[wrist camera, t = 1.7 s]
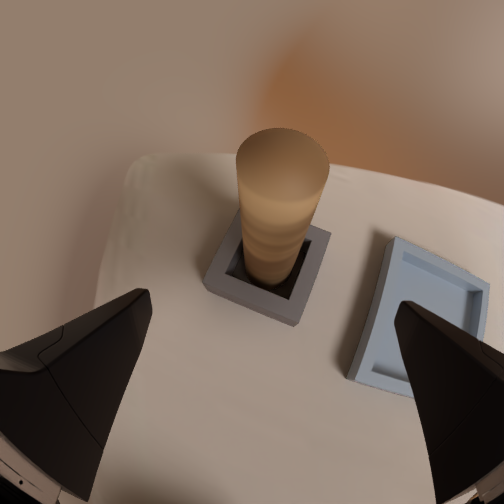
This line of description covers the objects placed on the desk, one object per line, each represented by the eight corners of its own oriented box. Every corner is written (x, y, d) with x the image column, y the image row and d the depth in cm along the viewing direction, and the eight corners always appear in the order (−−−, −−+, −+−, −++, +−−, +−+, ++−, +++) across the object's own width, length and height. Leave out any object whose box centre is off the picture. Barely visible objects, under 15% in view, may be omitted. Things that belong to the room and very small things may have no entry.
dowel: (280, 296, 22) (314, 213, 9) (237, 279, 22) (219, 179, 10) (296, 256, 23) (338, 145, 11) (256, 240, 23) (257, 119, 11)
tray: (452, 407, 17) (465, 409, 15) (345, 379, 19) (354, 380, 17) (477, 289, 21) (489, 284, 19) (386, 245, 23) (395, 236, 21)
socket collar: (293, 326, 21) (298, 322, 18) (207, 290, 22) (201, 282, 19) (324, 245, 23) (331, 232, 21) (244, 215, 24) (244, 199, 22)
